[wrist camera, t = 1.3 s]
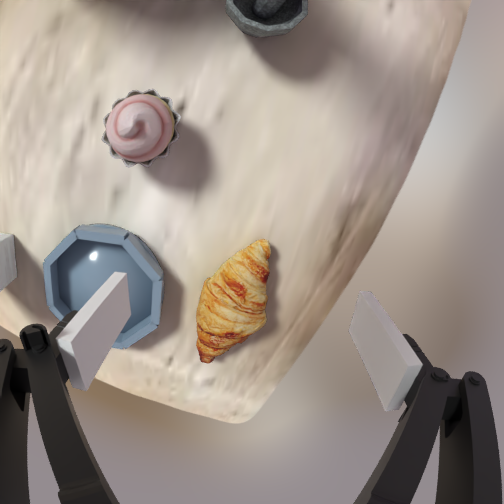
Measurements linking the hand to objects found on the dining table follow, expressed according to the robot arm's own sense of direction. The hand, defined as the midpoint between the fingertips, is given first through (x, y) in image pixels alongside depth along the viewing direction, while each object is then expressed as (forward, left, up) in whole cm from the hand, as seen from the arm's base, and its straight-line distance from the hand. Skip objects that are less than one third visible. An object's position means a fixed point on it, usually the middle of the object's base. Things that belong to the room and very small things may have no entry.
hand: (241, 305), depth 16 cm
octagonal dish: (+13, -15, -25) cm, 32 cm away
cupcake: (-9, -11, -25) cm, 29 cm away
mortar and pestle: (-28, 0, -25) cm, 38 cm away
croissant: (+13, +4, -25) cm, 29 cm away
